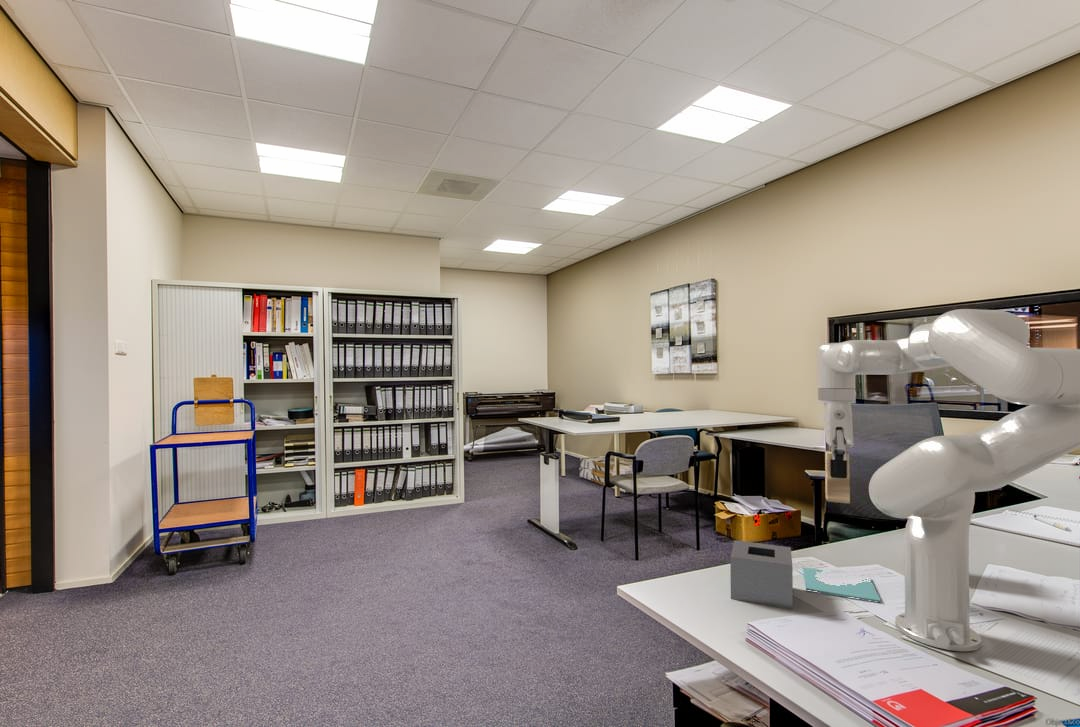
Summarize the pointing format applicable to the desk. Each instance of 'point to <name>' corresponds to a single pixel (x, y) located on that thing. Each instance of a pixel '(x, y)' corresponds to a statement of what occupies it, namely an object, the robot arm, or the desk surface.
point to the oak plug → (836, 483)
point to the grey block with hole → (762, 574)
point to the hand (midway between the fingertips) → (837, 474)
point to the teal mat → (840, 587)
